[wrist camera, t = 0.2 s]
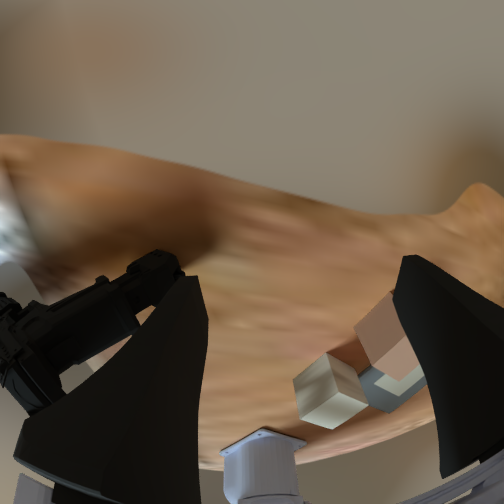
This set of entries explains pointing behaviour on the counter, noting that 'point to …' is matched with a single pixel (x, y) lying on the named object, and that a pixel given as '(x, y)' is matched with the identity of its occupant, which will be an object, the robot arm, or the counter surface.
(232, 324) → the counter surface
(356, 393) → the block cream
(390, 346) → the block brown
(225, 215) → the counter surface
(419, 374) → the board
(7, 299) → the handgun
